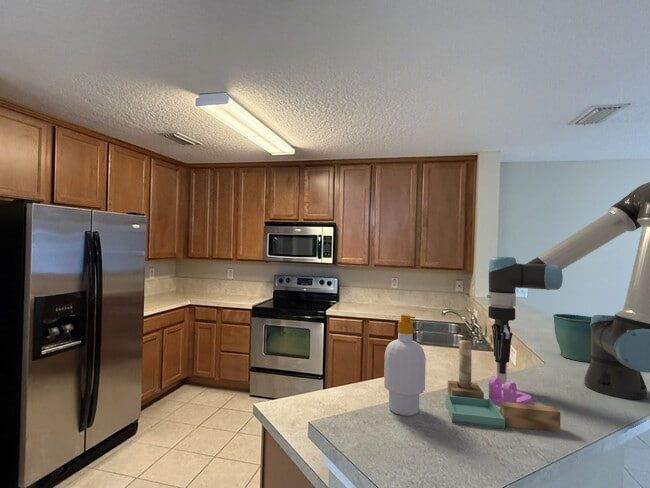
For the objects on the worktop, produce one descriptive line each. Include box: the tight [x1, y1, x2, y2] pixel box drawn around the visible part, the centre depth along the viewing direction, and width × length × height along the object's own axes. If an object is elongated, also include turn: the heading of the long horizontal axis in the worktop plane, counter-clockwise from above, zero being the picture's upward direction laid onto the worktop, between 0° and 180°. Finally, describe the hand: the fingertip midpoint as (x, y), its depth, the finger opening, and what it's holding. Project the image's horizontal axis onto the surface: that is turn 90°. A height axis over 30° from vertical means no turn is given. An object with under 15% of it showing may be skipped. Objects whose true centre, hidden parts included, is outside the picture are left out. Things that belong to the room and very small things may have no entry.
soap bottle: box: [383, 313, 427, 417], centre depth 90 cm, size 10×10×24 cm
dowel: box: [458, 339, 473, 389], centre depth 98 cm, size 3×3×16 cm
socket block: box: [447, 380, 485, 399], centre depth 98 cm, size 8×8×4 cm
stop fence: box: [499, 401, 561, 433], centre depth 83 cm, size 12×3×4 cm, turn 79°
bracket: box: [488, 375, 532, 408], centre depth 97 cm, size 13×6×7 cm, turn 121°
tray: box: [444, 394, 506, 429], centre depth 88 cm, size 12×12×2 cm
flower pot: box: [552, 313, 592, 363], centre depth 146 cm, size 18×18×17 cm
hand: (500, 382), depth 108 cm, fingers closed
